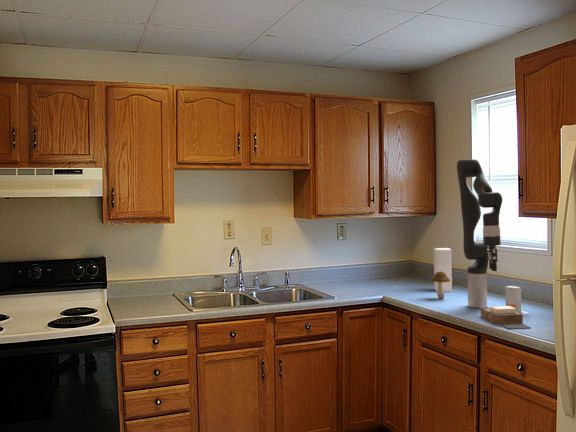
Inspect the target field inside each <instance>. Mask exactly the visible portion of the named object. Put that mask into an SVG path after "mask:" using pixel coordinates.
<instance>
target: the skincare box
mask: <svg viewBox="0 0 576 432" xmlns="http://www.w3.org/2000/svg"><path fill="white" fill-rule="evenodd" d="M504 288H505V291H504V293H505V306H511V307H513V308H516V312H518V313H522V287H520V286H514V285H508V286H507V285H506V286H505V287H504Z"/></svg>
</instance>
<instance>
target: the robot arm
mask: <svg viewBox="0 0 576 432" xmlns="http://www.w3.org/2000/svg"><path fill="white" fill-rule="evenodd" d="M456 176H457V181H458V185H459V187H458V188H459V194H460V205H461V206H460V209H461V218H462V228H463V229H462V230H463V232H462V233H463V243H462V244H463V254H464V257H465V258H466V259H467V260H469V261H470V260H472V261H474V260H475V261H474V262H473V264H471V265H470V266H468V267H467V307H469V308H473V309H474V308H476V309H481V308H488V273H487V272H488V268H489V270H491V271H492V272H497V270H498V262H499V260H498V249H497V248H496V246H501V242H502V241H501V228H500V213H501V209H502V204H503V195H501V193H500V192H498V191H493V189H492V187H491V185H490V184H489V182H488V181H487V179H486V176H485V173H484V171H483V168H482V165H481V163H480V161H479V160H478V159H476V158H475V159H473V158H471V159H459V160H458V161H457V162H456ZM467 178H475V179H474V180H473V184H472V187H473V190H474V192H475V193H476V194H475V193H474V192H473V191H472V189H471V188H470V186H469V184H468V181H467ZM476 195H477V196H476ZM481 208H483V209H485V208H488V209H489V208H491V211H489V212H485V213H483V215H482V212H481ZM481 216H482V222H483V224H482V225H483V227H482V239H483V240H477V241H475V238H474V237H475V230H476V228H477V225H478V223H479V222H480V219H481Z"/></svg>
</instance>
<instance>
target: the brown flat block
mask: <svg viewBox="0 0 576 432" xmlns="http://www.w3.org/2000/svg"><path fill="white" fill-rule="evenodd" d="M523 315H524V314H522V312H516V313H504V314H496V313H494V312H492V311H491V309H490V307H485V308H480V317H482V318H484V319H485V320H488V321H489V322H491V323H492V324H494V325H499V324H503V323H523V322H524V321H523V317H524V316H523ZM523 324H524V323H523Z"/></svg>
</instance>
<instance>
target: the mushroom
mask: <svg viewBox="0 0 576 432" xmlns="http://www.w3.org/2000/svg"><path fill="white" fill-rule="evenodd" d="M429 280H430V281H432V282H433V283H434V282H438V290H437V291H436V292H437V294H436V295H437V297H438V299H440V300H442V299H444V298H445V293H444V292H443V289H442V282H449V281H450V279H449V278H448V277H447V275H446V274H445V273H444V272H437V273H436V274H435V276H434V275H433V276H432V277H431V278H430V279H429Z"/></svg>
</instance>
